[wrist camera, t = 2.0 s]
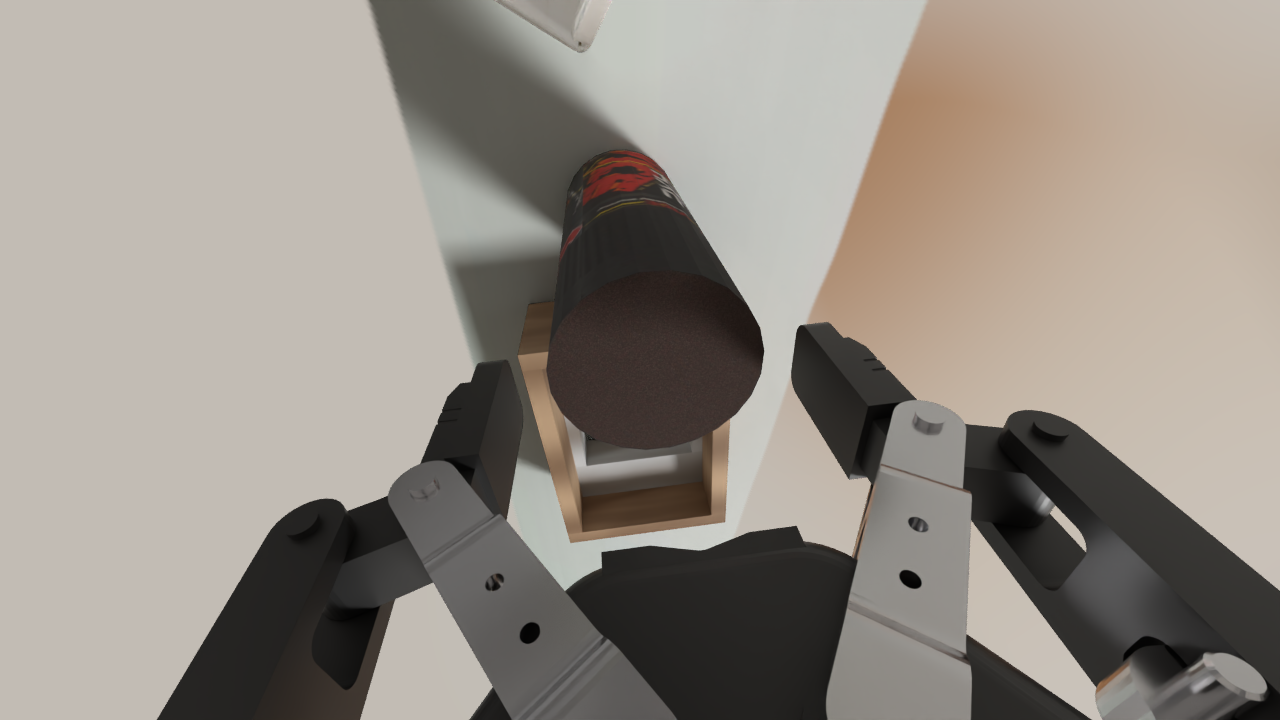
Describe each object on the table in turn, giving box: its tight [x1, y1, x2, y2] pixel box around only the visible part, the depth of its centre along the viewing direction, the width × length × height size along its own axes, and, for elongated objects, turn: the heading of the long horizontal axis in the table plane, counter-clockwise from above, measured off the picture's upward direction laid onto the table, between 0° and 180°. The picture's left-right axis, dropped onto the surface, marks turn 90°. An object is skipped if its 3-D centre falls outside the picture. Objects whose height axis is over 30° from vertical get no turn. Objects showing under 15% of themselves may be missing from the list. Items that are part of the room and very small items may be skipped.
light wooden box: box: [518, 301, 730, 543], centre depth 30 cm, size 16×11×6 cm
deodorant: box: [546, 150, 764, 450], centre depth 19 cm, size 6×6×15 cm
